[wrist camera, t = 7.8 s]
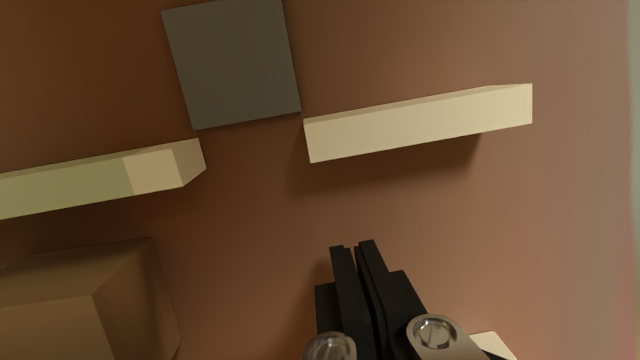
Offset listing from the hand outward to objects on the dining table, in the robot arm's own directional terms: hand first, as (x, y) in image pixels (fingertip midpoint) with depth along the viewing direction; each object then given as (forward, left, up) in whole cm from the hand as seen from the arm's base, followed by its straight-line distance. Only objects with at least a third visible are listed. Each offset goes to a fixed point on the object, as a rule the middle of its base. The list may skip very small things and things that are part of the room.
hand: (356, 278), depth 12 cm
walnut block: (0, -10, -2) cm, 11 cm away
